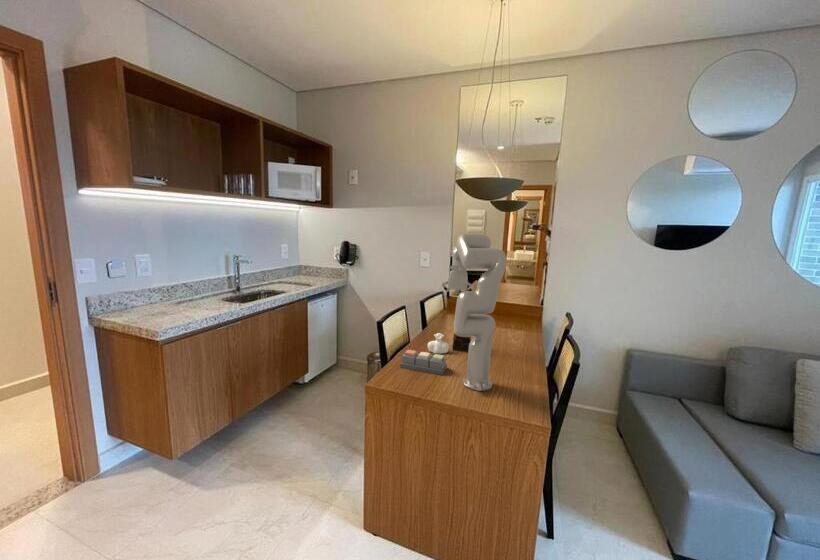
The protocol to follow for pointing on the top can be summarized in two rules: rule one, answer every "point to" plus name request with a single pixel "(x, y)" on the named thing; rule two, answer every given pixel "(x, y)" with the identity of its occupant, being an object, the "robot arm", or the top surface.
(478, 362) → the robot arm
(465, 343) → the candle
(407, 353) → the terracotta button
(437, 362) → the button board
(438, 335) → the bust
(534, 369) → the top surface
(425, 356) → the cream button
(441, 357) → the sage button
